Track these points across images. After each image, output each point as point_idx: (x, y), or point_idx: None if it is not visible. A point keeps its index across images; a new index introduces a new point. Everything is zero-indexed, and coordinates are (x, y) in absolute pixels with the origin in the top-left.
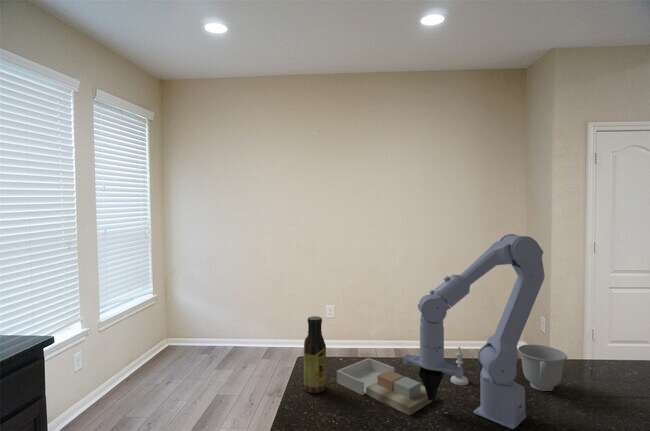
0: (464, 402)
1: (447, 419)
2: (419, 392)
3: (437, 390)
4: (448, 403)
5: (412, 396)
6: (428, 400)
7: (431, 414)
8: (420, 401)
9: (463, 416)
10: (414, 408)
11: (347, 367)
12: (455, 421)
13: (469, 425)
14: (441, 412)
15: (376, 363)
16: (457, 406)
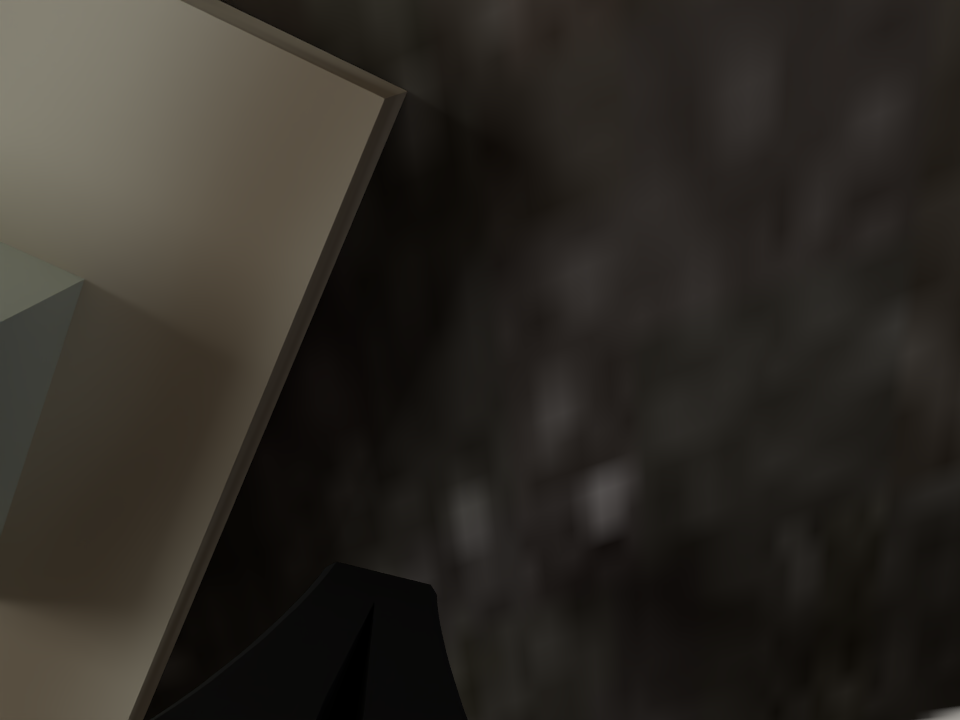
0: (950, 20)
1: (640, 672)
2: (68, 320)
3: (449, 673)
4: (640, 186)
5: (2, 525)
6: (291, 347)
7: None
8: (181, 590)
9: (880, 522)
10: (148, 694)
11: None
12: (752, 684)
13: (942, 716)
14: (543, 523)
15: None
16: (802, 237)
